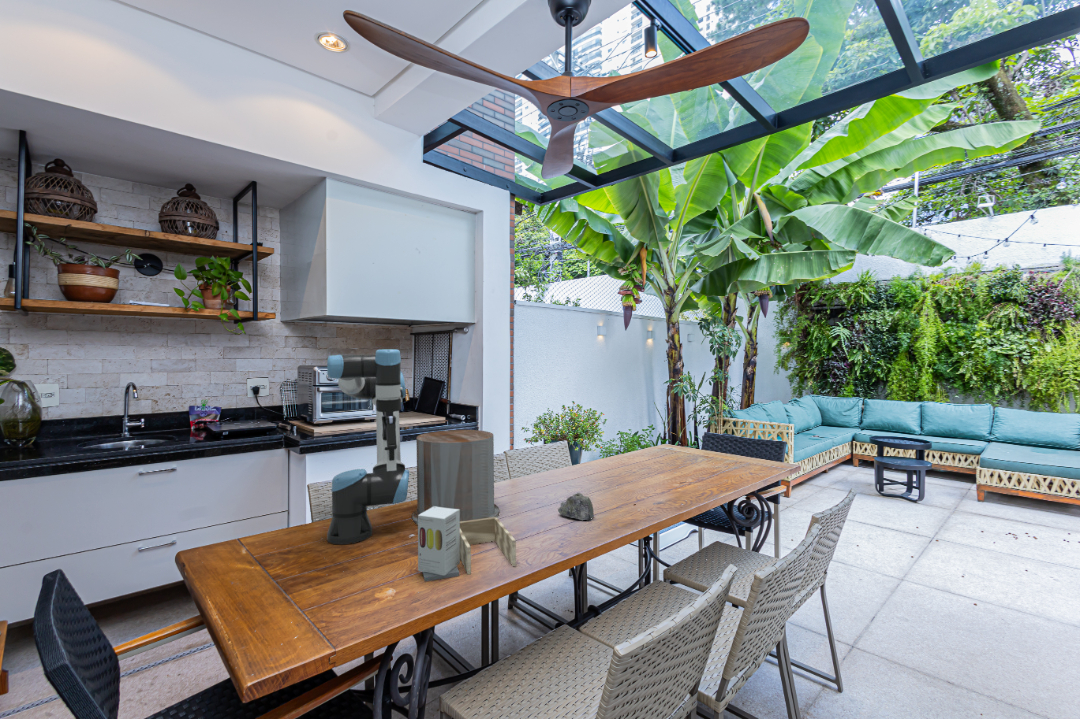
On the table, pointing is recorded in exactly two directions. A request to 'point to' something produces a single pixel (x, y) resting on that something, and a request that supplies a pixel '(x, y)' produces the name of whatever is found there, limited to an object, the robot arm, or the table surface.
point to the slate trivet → (432, 576)
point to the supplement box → (438, 540)
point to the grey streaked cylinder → (456, 473)
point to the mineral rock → (577, 507)
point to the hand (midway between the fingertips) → (389, 465)
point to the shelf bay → (485, 539)
